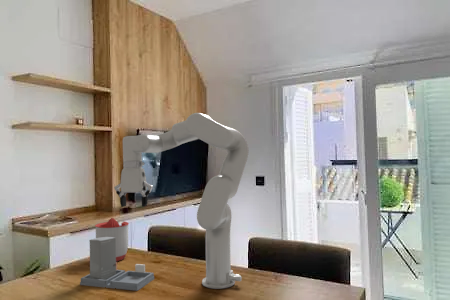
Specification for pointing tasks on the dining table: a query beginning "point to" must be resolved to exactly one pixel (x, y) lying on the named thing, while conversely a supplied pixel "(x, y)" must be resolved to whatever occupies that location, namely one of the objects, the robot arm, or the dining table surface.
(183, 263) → the dining table surface
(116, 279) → the tray
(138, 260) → the dining table surface
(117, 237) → the citrus juicer
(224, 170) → the robot arm
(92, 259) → the skincare box
